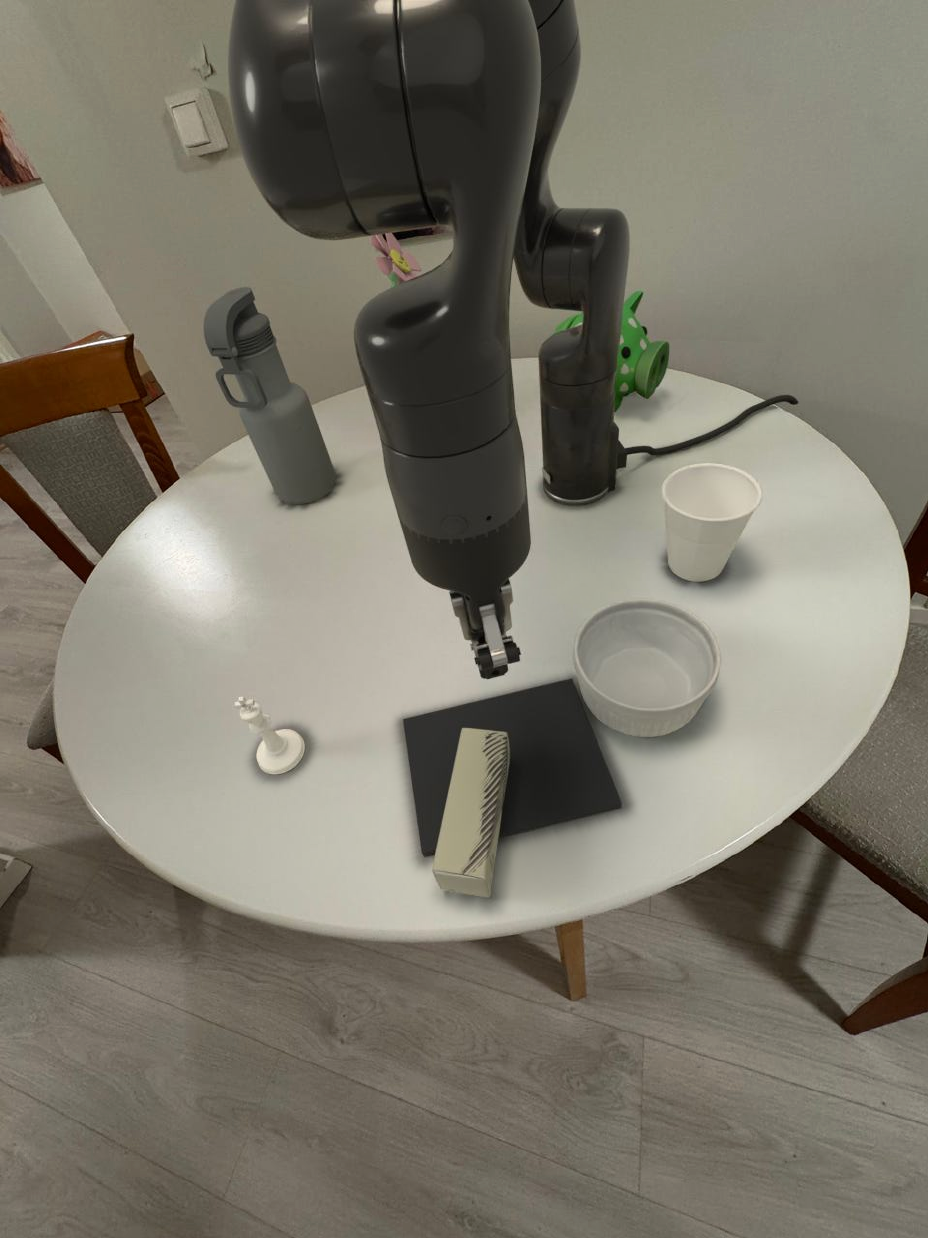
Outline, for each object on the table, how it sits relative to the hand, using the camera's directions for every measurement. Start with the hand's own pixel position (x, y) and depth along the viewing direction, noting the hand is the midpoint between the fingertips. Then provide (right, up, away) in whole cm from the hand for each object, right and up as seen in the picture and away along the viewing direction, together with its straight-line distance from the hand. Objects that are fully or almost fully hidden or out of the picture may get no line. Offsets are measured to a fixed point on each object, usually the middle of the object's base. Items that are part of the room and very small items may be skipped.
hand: (492, 668), depth 46 cm
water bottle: (-27, +24, +46) cm, 59 cm away
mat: (+2, -10, +10) cm, 14 cm away
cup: (+25, +10, +24) cm, 36 cm away
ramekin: (+15, -4, +13) cm, 21 cm away
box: (0, -7, +8) cm, 11 cm away
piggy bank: (+20, +40, +51) cm, 68 cm away
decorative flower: (-8, +36, +53) cm, 65 cm away
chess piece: (-21, -10, +14) cm, 27 cm away
